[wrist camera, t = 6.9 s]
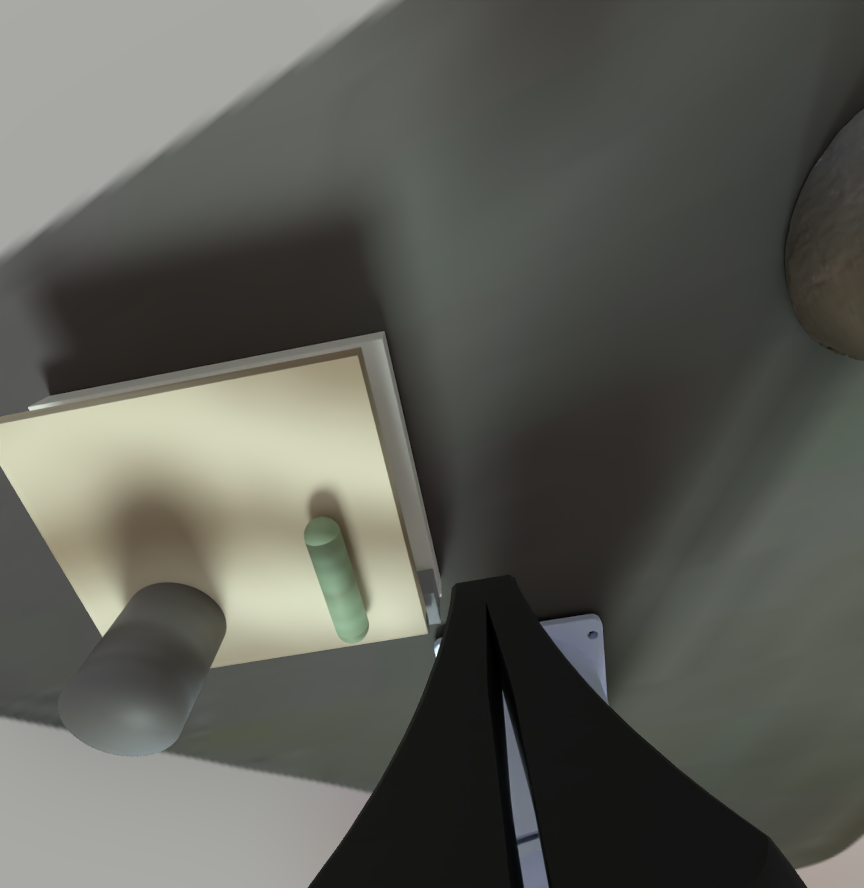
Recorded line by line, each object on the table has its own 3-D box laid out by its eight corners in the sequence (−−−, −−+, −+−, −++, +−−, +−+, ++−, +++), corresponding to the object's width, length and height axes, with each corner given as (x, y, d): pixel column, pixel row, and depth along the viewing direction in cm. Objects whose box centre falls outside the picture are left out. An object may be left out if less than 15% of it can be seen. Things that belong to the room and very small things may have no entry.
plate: (429, 622, 21) (432, 737, 16) (145, 667, 22) (72, 790, 17) (361, 347, 16) (338, 401, 12) (1, 416, 17) (-152, 493, 12)
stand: (440, 579, 24) (443, 622, 21) (169, 624, 25) (141, 670, 22) (384, 331, 19) (379, 349, 17) (49, 396, 20) (-4, 423, 17)
